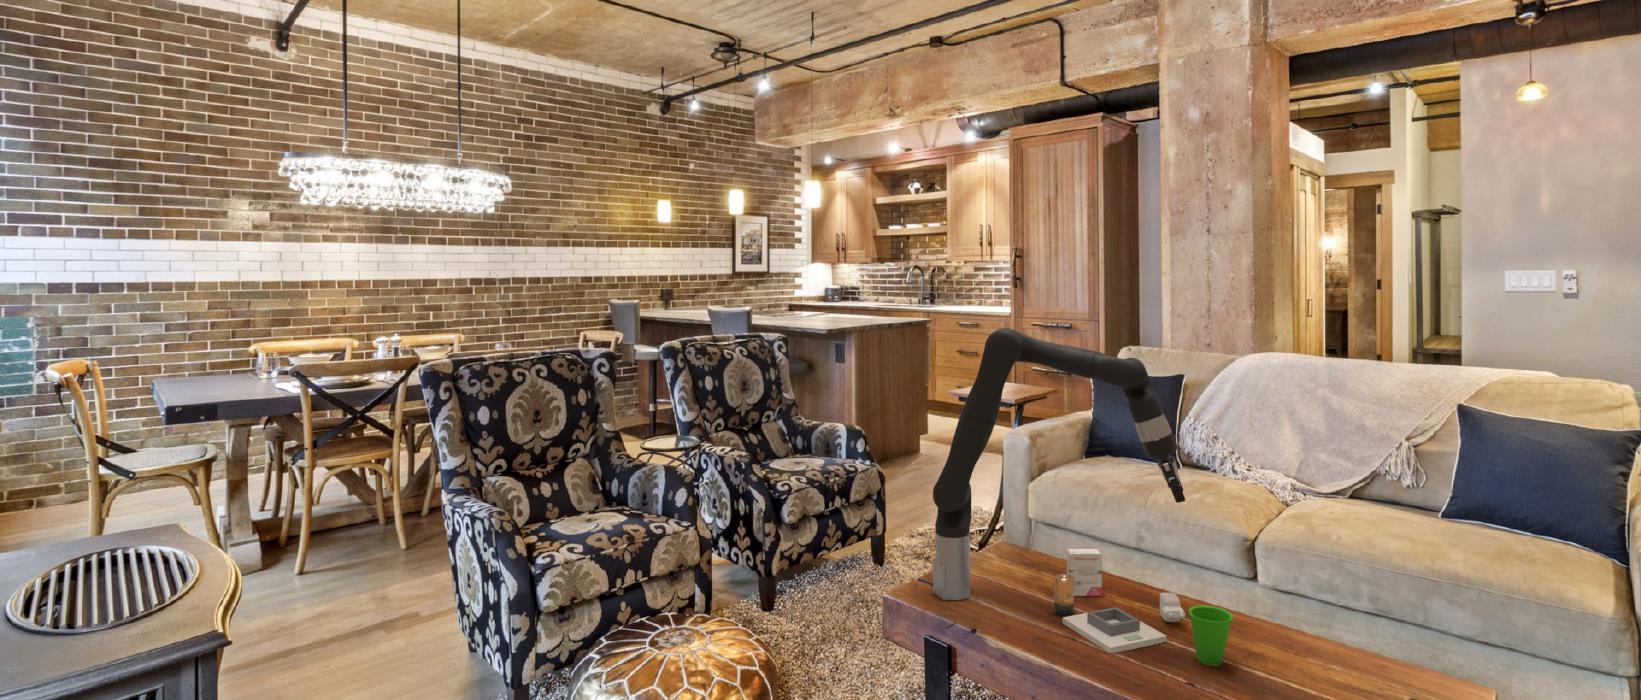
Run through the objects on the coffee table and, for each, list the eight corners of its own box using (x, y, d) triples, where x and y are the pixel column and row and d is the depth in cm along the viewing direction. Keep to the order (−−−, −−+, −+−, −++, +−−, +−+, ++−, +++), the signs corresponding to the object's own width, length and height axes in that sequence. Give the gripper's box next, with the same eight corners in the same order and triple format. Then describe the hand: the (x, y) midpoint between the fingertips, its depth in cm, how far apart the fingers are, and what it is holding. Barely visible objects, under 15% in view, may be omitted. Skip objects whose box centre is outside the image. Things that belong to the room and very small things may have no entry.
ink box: (1098, 589, 227) (1098, 547, 226) (1102, 596, 222) (1103, 554, 221) (1066, 589, 228) (1066, 547, 227) (1069, 596, 223) (1069, 553, 222)
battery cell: (1061, 618, 209) (1061, 580, 208) (1050, 611, 214) (1050, 573, 213) (1077, 615, 211) (1077, 577, 210) (1066, 608, 215) (1066, 570, 214)
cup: (1229, 654, 188) (1230, 607, 187) (1234, 673, 179) (1236, 624, 178) (1185, 649, 191) (1186, 603, 190) (1189, 667, 182) (1190, 619, 181)
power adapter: (1189, 633, 199) (1189, 609, 199) (1167, 632, 200) (1168, 608, 199) (1176, 613, 210) (1177, 591, 210) (1156, 613, 211) (1157, 590, 210)
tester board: (1110, 653, 189) (1110, 637, 189) (1062, 623, 206) (1062, 607, 206) (1166, 642, 195) (1166, 625, 194) (1115, 613, 211) (1115, 597, 211)
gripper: (1140, 434, 212) (1163, 493, 211) (1140, 445, 199) (1165, 509, 198) (1170, 425, 209) (1194, 485, 209) (1172, 436, 196) (1197, 500, 195)
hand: (1180, 497), depth 203 cm, fingers open, 8 cm apart
